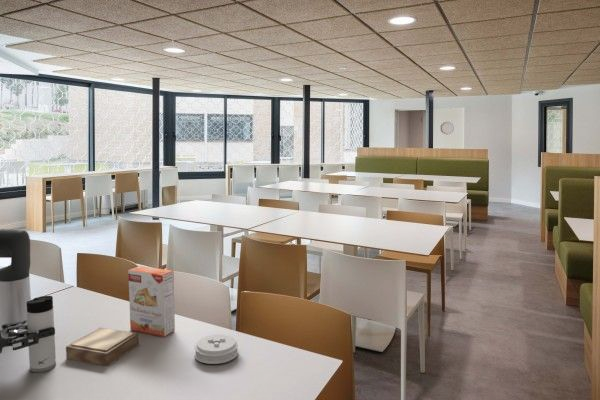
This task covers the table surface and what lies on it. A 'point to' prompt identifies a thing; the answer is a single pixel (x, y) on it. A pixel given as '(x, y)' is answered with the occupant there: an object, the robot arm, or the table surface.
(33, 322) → the travel mug
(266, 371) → the table surface
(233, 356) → the lid
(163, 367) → the table surface
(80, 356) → the walnut riser
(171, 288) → the cracker box
